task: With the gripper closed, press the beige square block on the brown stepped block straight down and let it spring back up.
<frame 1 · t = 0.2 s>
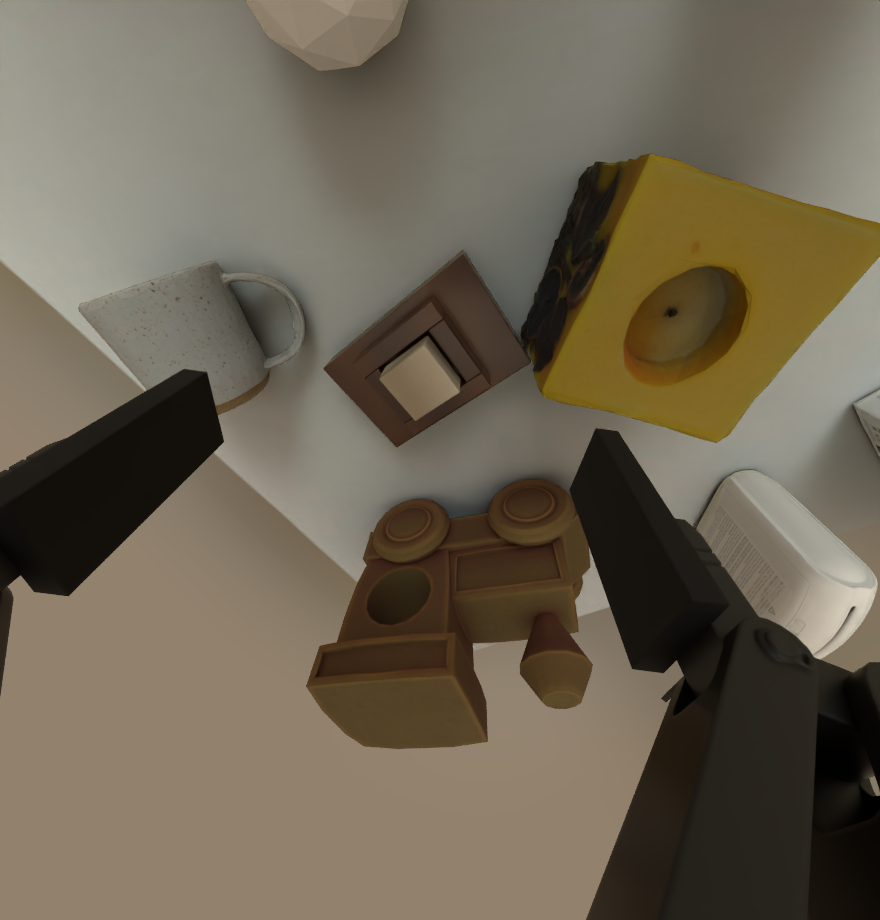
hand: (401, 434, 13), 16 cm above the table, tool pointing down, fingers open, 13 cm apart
wooden toy train: (473, 526, 37), on the table
ceramic mug: (237, 318, 27), on the table
brown stepped block: (427, 355, 27), on the table
candle: (619, 282, 24), on the table
photo printer: (722, 511, 34), on the table
beige square block: (421, 379, 24), point 5 cm above the table, slide at 0.1 cm
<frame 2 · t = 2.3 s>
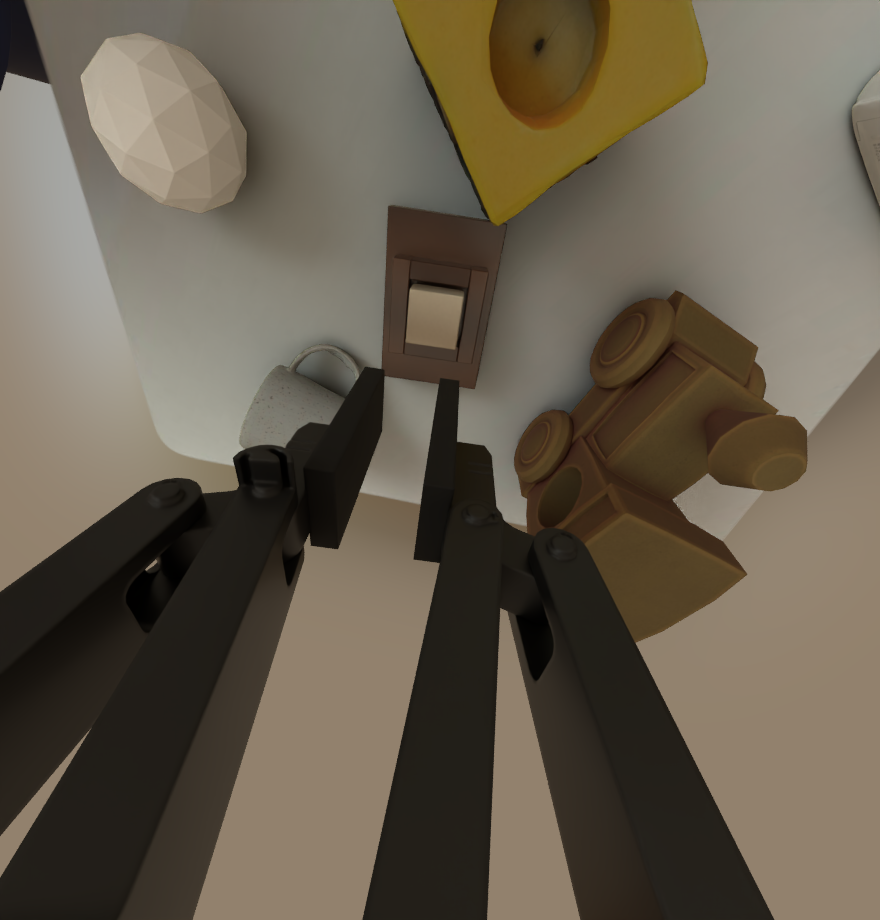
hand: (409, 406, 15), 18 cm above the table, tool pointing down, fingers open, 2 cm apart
wooden toy train: (605, 408, 35), on the table
ceramic mug: (320, 392, 35), on the table
brown stepped block: (438, 302, 30), on the table
geometric ball: (211, 141, 25), on the table
candle: (522, 86, 23), on the table
beige square block: (434, 316, 26), point 5 cm above the table, slide at 0.1 cm
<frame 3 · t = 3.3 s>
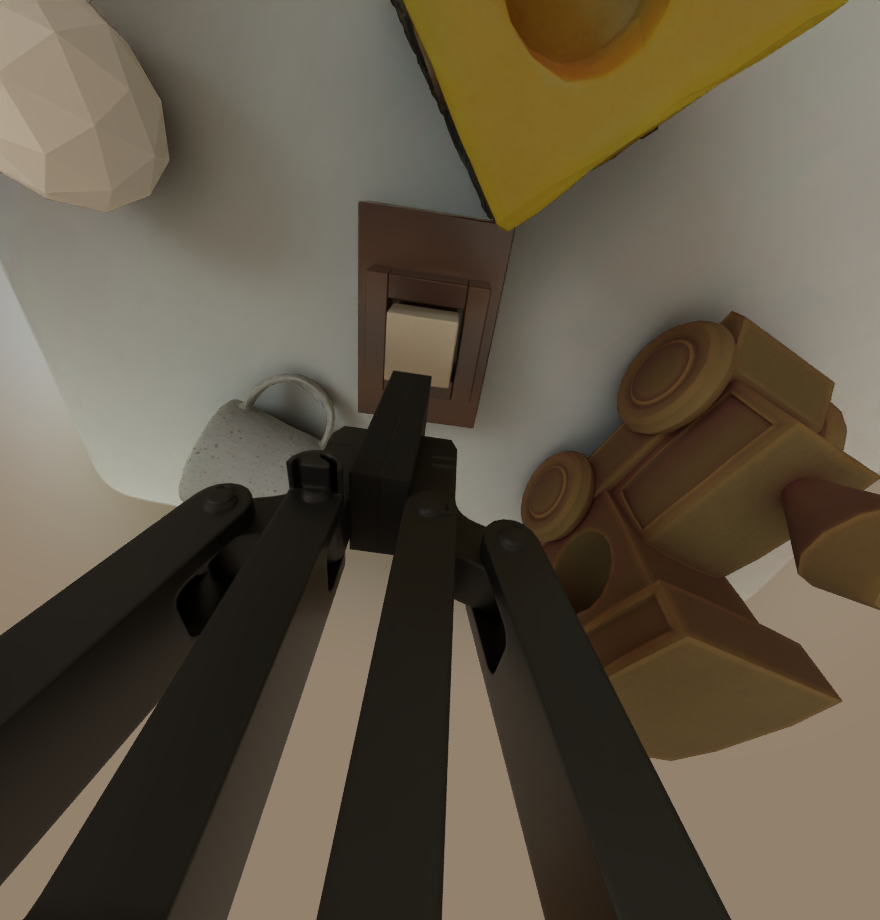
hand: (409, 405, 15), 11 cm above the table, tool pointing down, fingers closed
wooden toy train: (631, 446, 29), on the table
ceramic mug: (287, 427, 29), on the table
brown stepped block: (428, 323, 24), on the table
geometric ball: (124, 115, 19), on the table
candle: (537, 38, 17), on the table
beige square block: (421, 346, 20), point 5 cm above the table, slide at 0.1 cm
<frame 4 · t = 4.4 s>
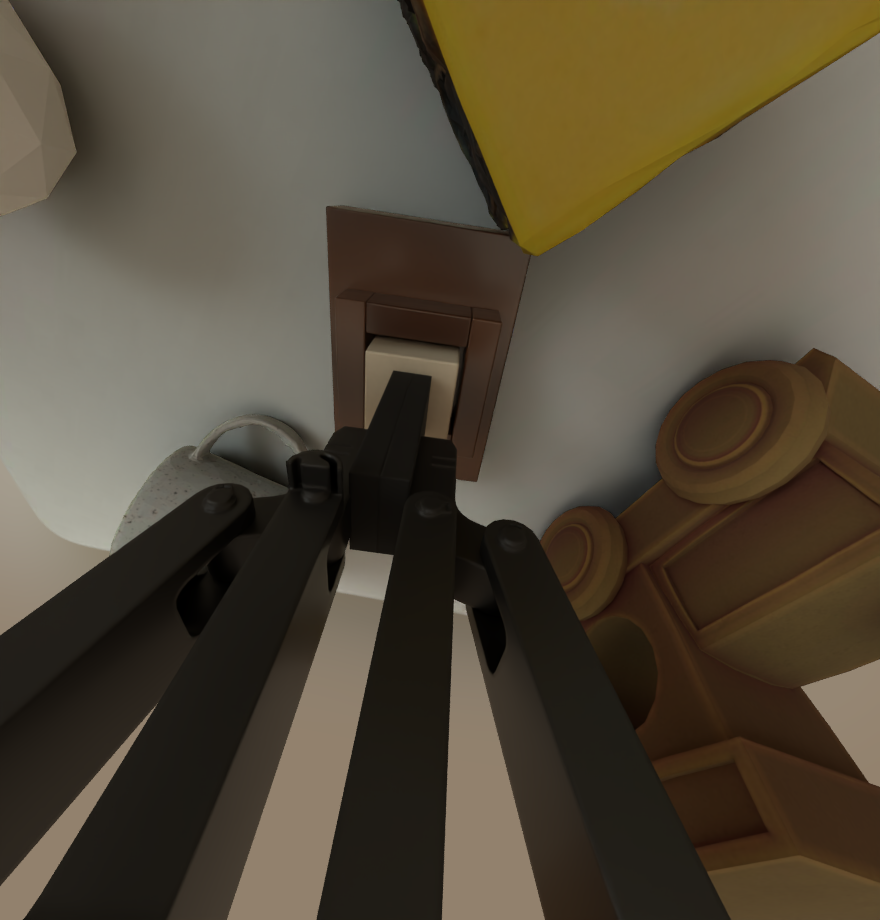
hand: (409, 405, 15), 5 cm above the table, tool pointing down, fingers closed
wooden toy train: (665, 497, 24), on the table
ceramic mug: (256, 473, 25), on the table
brown stepped block: (421, 356, 19), on the table
geometric ball: (19, 93, 15), on the table
beige square block: (411, 389, 16), point 4 cm above the table, slide at -0.4 cm, touching gripper
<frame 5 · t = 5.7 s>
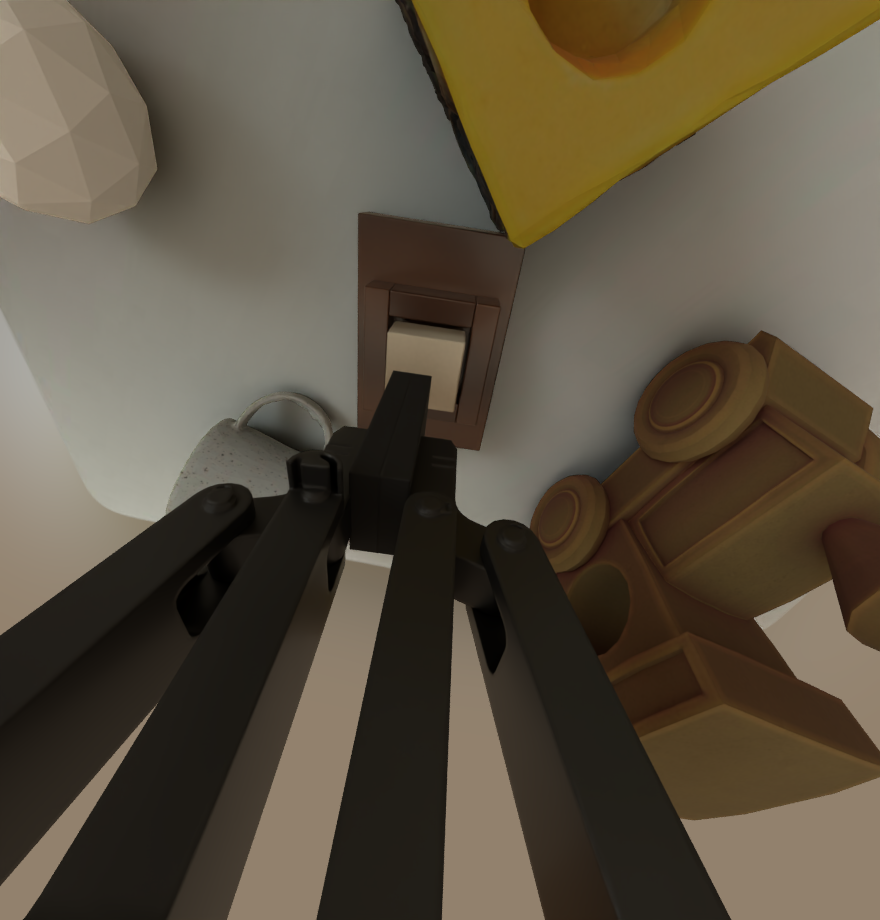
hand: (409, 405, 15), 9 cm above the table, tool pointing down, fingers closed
wooden toy train: (646, 469, 27), on the table
ceramic mug: (284, 446, 28), on the table
brown stepped block: (432, 339, 23), on the table
geometric ball: (111, 122, 18), on the table
candle: (552, 38, 15), on the table
beige square block: (424, 367, 19), point 5 cm above the table, slide at 0.1 cm
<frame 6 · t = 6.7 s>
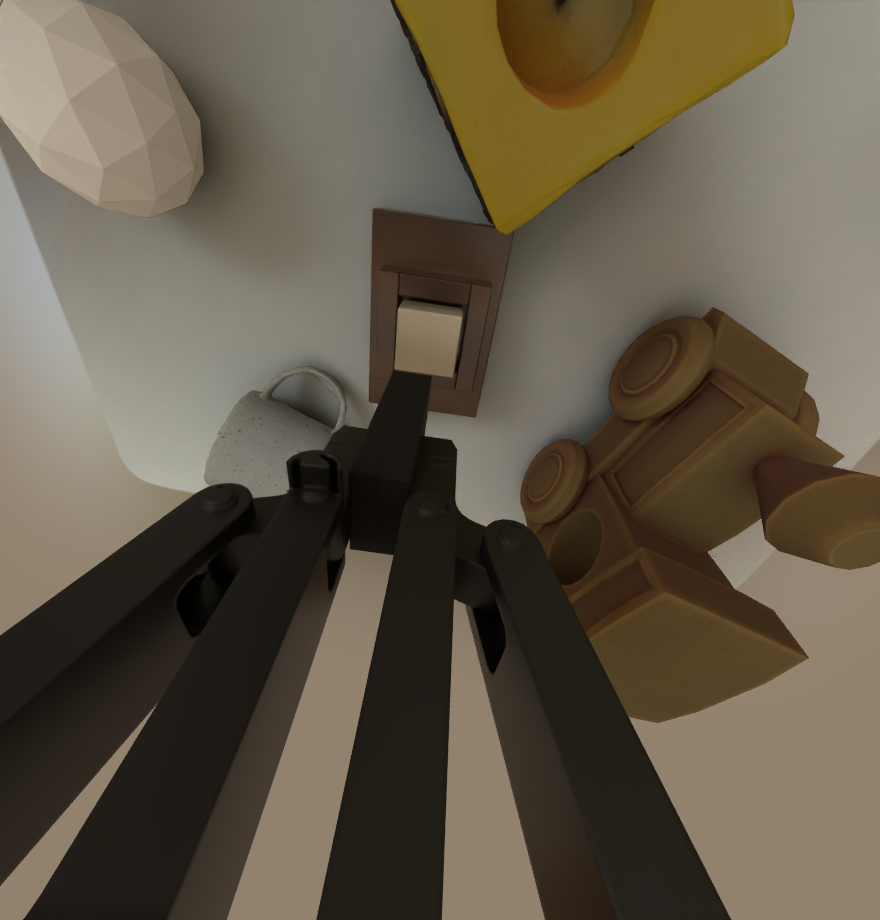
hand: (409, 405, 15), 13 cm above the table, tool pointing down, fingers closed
wooden toy train: (624, 436, 31), on the table
ceramic mug: (302, 418, 31), on the table
brown stepped block: (434, 319, 26), on the table
geometric ball: (163, 132, 21), on the table
candle: (533, 64, 19), on the table
beige square block: (428, 339, 22), point 5 cm above the table, slide at 0.1 cm
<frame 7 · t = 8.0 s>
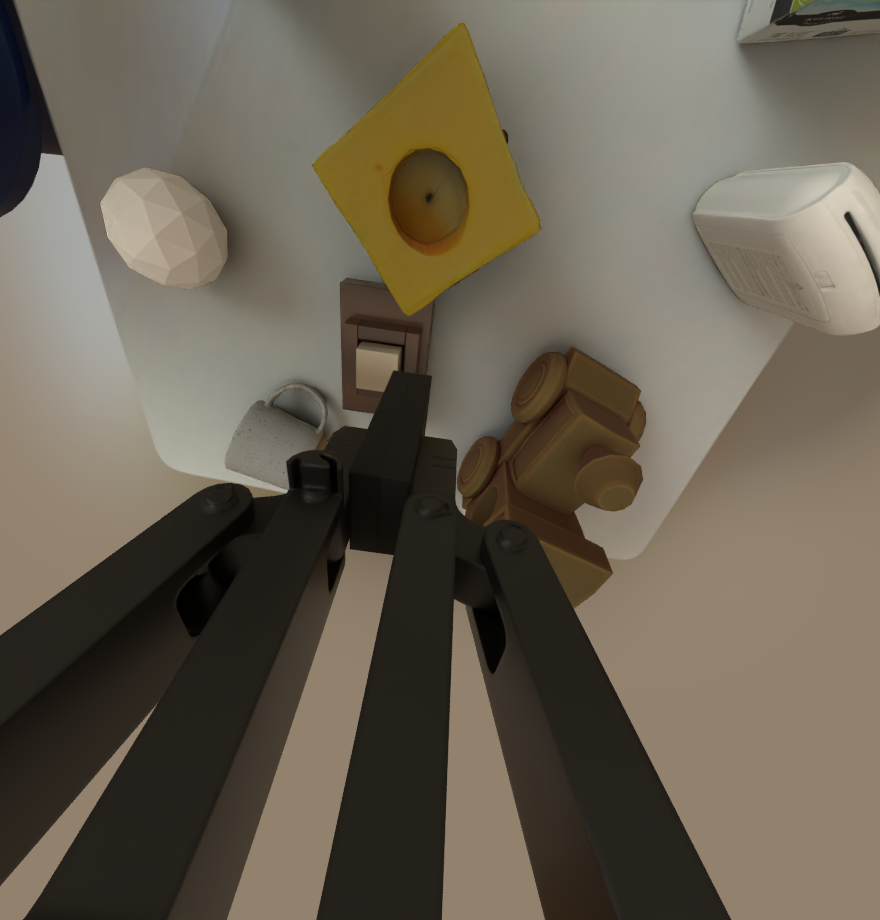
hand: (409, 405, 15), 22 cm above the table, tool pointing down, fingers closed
wooden toy train: (534, 434, 41), on the table
ceramic mug: (295, 420, 42), on the table
brown stepped block: (388, 350, 37), on the table
geometric ball: (200, 230, 32), on the table
candle: (440, 195, 29), on the table
photo printer: (736, 241, 30), on the table
beige square block: (379, 367, 33), point 5 cm above the table, slide at 0.1 cm
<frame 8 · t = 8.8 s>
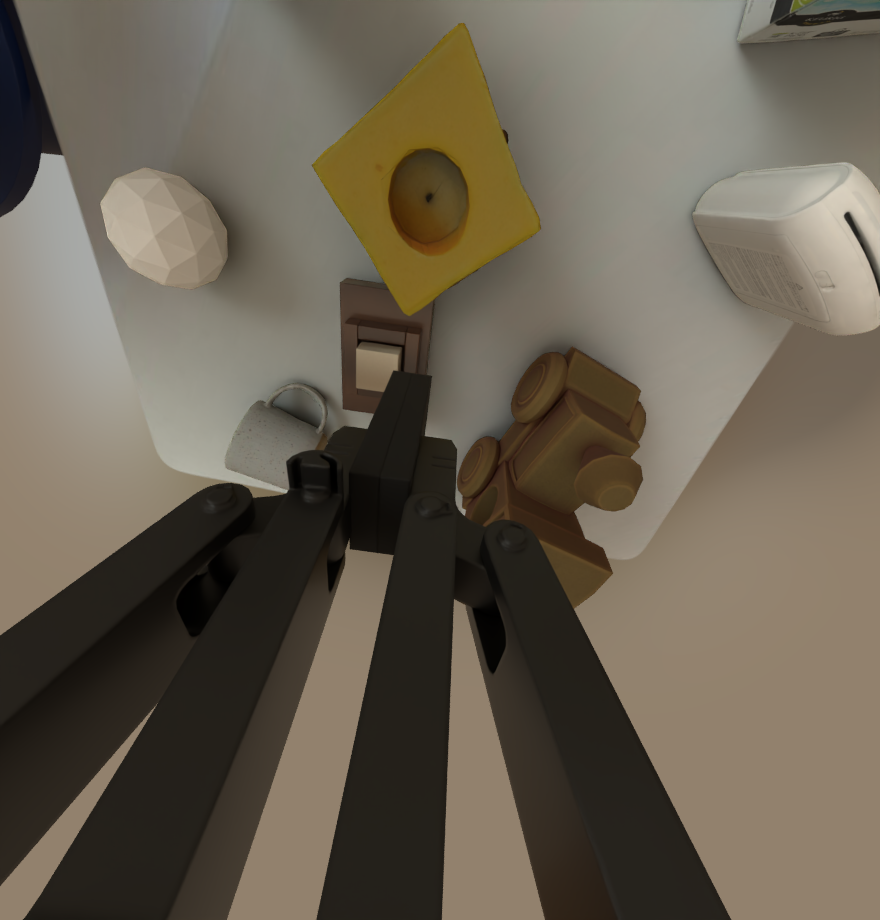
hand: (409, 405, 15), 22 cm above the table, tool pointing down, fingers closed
wooden toy train: (534, 434, 41), on the table
ceramic mug: (295, 420, 42), on the table
brown stepped block: (388, 350, 37), on the table
geometric ball: (200, 230, 32), on the table
candle: (440, 195, 29), on the table
photo printer: (736, 241, 30), on the table
beige square block: (379, 367, 33), point 5 cm above the table, slide at 0.1 cm
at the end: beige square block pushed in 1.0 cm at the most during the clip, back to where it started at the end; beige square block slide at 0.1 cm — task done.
